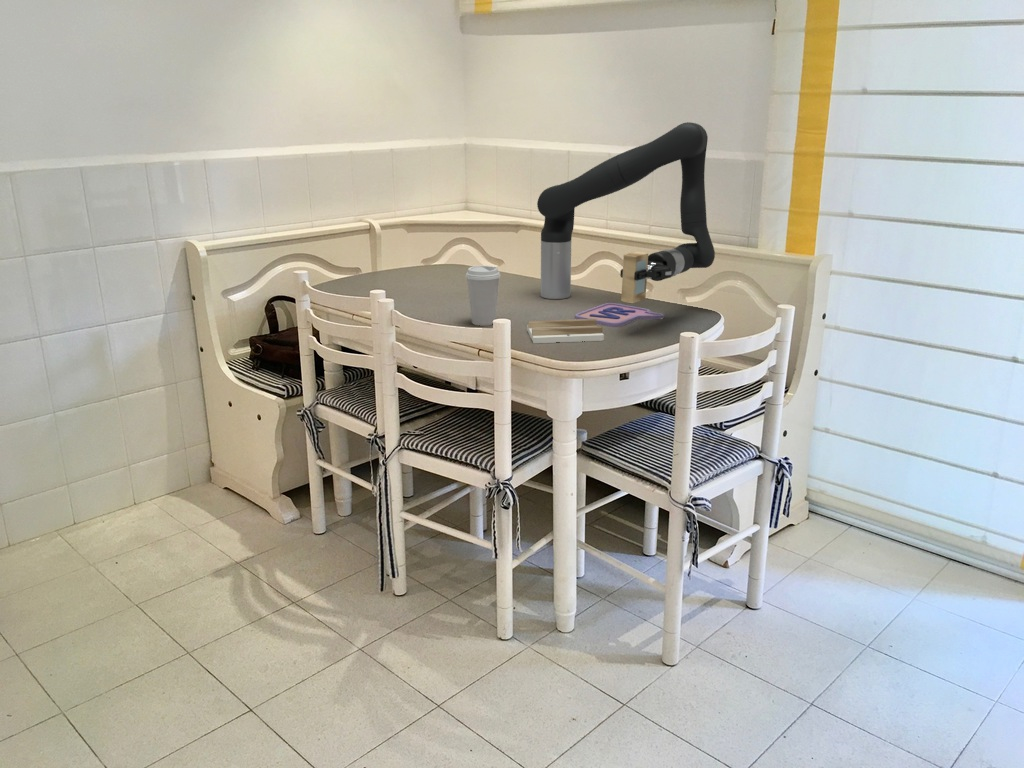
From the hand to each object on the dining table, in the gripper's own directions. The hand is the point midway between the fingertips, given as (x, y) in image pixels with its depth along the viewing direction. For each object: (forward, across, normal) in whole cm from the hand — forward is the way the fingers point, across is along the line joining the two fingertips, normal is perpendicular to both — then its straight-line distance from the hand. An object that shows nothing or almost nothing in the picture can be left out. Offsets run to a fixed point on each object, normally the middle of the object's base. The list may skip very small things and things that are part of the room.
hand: (628, 275), depth 209 cm
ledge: (+11, -12, +16) cm, 23 cm away
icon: (-13, -11, +17) cm, 24 cm away
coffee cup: (+15, -36, +17) cm, 43 cm away
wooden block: (-3, 0, +7) cm, 8 cm away
